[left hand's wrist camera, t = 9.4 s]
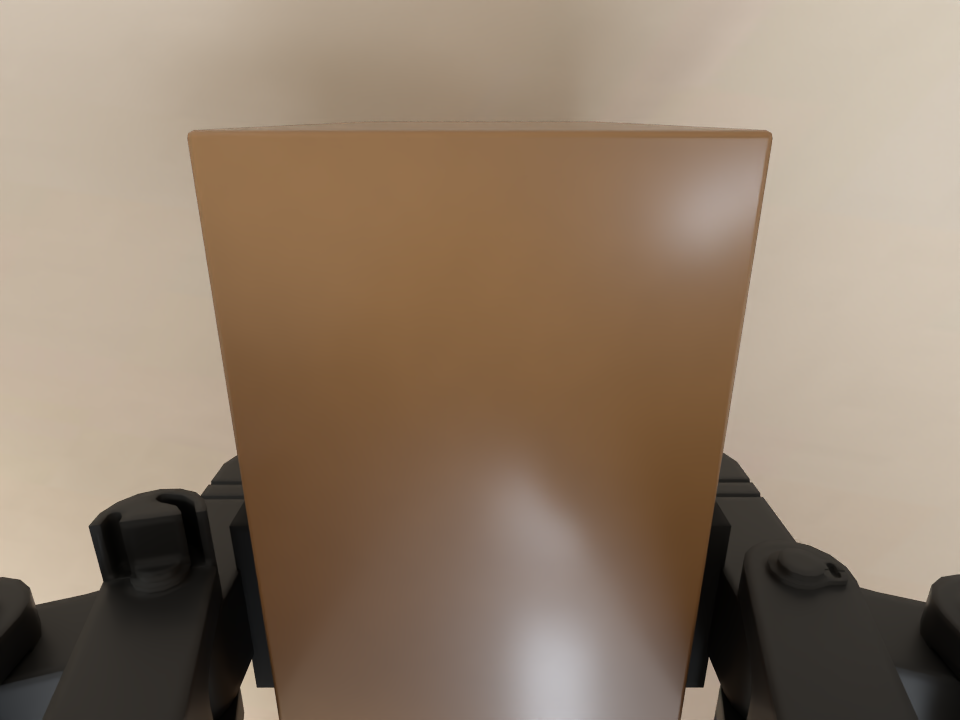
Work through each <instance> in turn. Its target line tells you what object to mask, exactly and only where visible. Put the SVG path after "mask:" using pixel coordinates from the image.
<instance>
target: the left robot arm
mask: <svg viewBox="0 0 960 720" xmlns="http://www.w3.org/2000/svg"><path fill="white" fill-rule="evenodd" d="M89 530H90V533H91V537H92V541H93V544H94V548H95V552H96V555H97V559H98V563H99V567H100V570H101V574H102V578H103V581H104V582H103V584H102V586H101V588H100V590H99V591H96V592H92V593H89V594H85V595H80V596H76V597H71V598H66V599H62V600H57V601H52V602H48V603H43V604H38V605H35V602H34V599H33V596H32V593H31V590H30V588H29V587H28V586H27V585H26V584H25V583H23V582H22V581H21V580H18V579H12V578H5V577H0V720H244V708H243V701H242V695H241V690H240V686H241V683H242V681H243V679H244V676H245V674H246V672H247V669H248V667H249V664H250V662H251V660H252V662H253V667H254V673H255V679H256V685H257V688H263V687H274V683H273V676H272V670H271V664H270V657H269V651H268V645H267V638H266V632H265V626H264V619H263V613H262V607H261V600H260V594H259V588H258V581H257V575H256V569H255V562H254V556H253V550H252V543H251V537H250V531H249V524H248V518H247V512H246V505H245V499H244V493H243V487H242V480H241V474H240V468H239V461H238V455H237V456H235V457H234V458H232V459H231V460H229V461H228V462H226V463H225V464H224V465H223V466H222V467H221V469H220V470H219V471H218V473H217V474H216V476H215V477H214V478H213V480H212V481H211V485H208V486H207V488H206V489H205V491H204V492H203V493H202V495H201V496H200V495H198V494H197V493H196V492H192V491H188V490H184V489H159V490H154V491H150V492H145V493H140V494H137V495H134V496H132V497H129V498H127V499H124V500H122V501H119V502H117V503H115V504H114V505H112V506H111V507H109V508H108V509H106V510H104V511H103V512H101V513H100V514H99V515H98V516H97V517H96V518H95V519H94V521H93V522H92V523H91V524H90V525H89ZM709 658H710V660H711V662H712V665H713V667H714V669H715V672H716V674H717V677H718V679H719V681H720V684H721V685H720V690H719V695H718V701H717V706H716V711H715V717H714V720H960V574H958V575H951V576H945V577H941V578H940V579H938V580H937V581H936V582H935V583H934V584H932V586H931V589H930V592H929V595H928V598H927V601H926V602H921V601H917V600H912V599H907V598H902V597H898V596H893V595H888V594H884V593H879V592H875V591H871V590H867V589H864V588H860V587H859V585H858V583H857V581H856V579H855V578H854V577H853V575H852V574H851V573H850V571H849V570H848V569H847V567H846V566H844V565H843V564H842V563H840V562H839V561H837V560H836V559H835V558H833V557H832V556H831V555H829V554H827V553H825V552H823V551H820V550H818V549H816V548H814V547H812V546H809V545H805V544H801V543H797V542H796V541H795V540H794V539H793V537H792V536H791V534H790V533H789V532H788V530H787V529H786V528H785V526H784V525H783V524H782V522H781V521H780V520H779V518H778V517H777V515H776V514H775V513H774V511H773V510H772V509H771V507H770V506H769V505H768V503H767V502H766V501H765V499H764V498H763V497H760V492H759V491H758V490H757V488H756V487H755V486H754V484H753V483H750V479H749V478H748V476H747V475H746V473H745V472H744V471H743V469H742V468H741V467H740V465H739V464H738V463H737V462H736V461H735V460H733V459H732V458H730V457H729V456H727V455H726V454H724V453H723V454H722V461H721V467H720V473H719V480H718V486H717V492H716V499H715V505H714V511H713V518H712V524H711V530H710V537H709V543H708V549H707V556H706V562H705V568H704V574H703V581H702V587H701V593H700V600H699V606H698V612H697V619H696V625H695V631H694V638H693V644H692V650H691V657H690V663H689V669H688V676H687V682H686V687H704V682H705V676H706V670H707V664H708V659H709Z"/></svg>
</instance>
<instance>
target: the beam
mask: <svg viewBox="0 0 960 720" xmlns="http://www.w3.org/2000/svg"><path fill="white" fill-rule="evenodd" d="M187 139H188V145H189V151H190V158H191V164H192V170H193V177H194V183H195V189H196V196H197V202H198V208H199V215H200V221H201V227H202V234H203V240H204V246H205V252H206V259H207V265H208V271H209V278H210V284H211V290H212V297H213V303H214V309H215V316H216V322H217V328H218V335H219V341H220V347H221V354H222V360H223V366H224V373H225V379H226V385H227V392H228V398H229V404H230V411H231V417H232V423H233V430H234V436H235V442H236V449H237V455H238V461H239V468H240V474H241V480H242V487H243V493H244V499H245V505H246V512H247V518H248V524H249V531H250V537H251V543H252V550H253V556H254V562H255V569H256V575H257V581H258V588H259V594H260V600H261V607H262V613H263V619H264V626H265V632H266V638H267V645H268V651H269V657H270V664H271V670H272V676H273V683H274V689H275V695H276V702H277V708H278V714H279V720H681V714H682V707H683V701H684V695H685V688H686V682H687V676H688V669H689V663H690V657H691V650H692V644H693V638H694V631H695V625H696V619H697V612H698V606H699V600H700V593H701V587H702V581H703V574H704V568H705V562H706V556H707V549H708V543H709V537H710V530H711V524H712V518H713V511H714V505H715V499H716V492H717V486H718V480H719V473H720V467H721V461H722V454H723V448H724V442H725V435H726V429H727V423H728V416H729V410H730V404H731V397H732V391H733V385H734V378H735V372H736V366H737V359H738V353H739V347H740V341H741V334H742V328H743V322H744V315H745V309H746V303H747V296H748V290H749V284H750V277H751V271H752V265H753V258H754V252H755V246H756V239H757V233H758V227H759V220H760V214H761V208H762V201H763V195H764V189H765V182H766V176H767V170H768V163H769V157H770V151H771V145H772V133H771V132H769V131H767V130H752V129H732V128H711V127H691V126H671V125H651V124H631V123H611V122H350V123H330V124H309V125H289V126H269V127H248V128H228V129H207V130H193V131H191V132H189V133H188V138H187Z"/></svg>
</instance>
